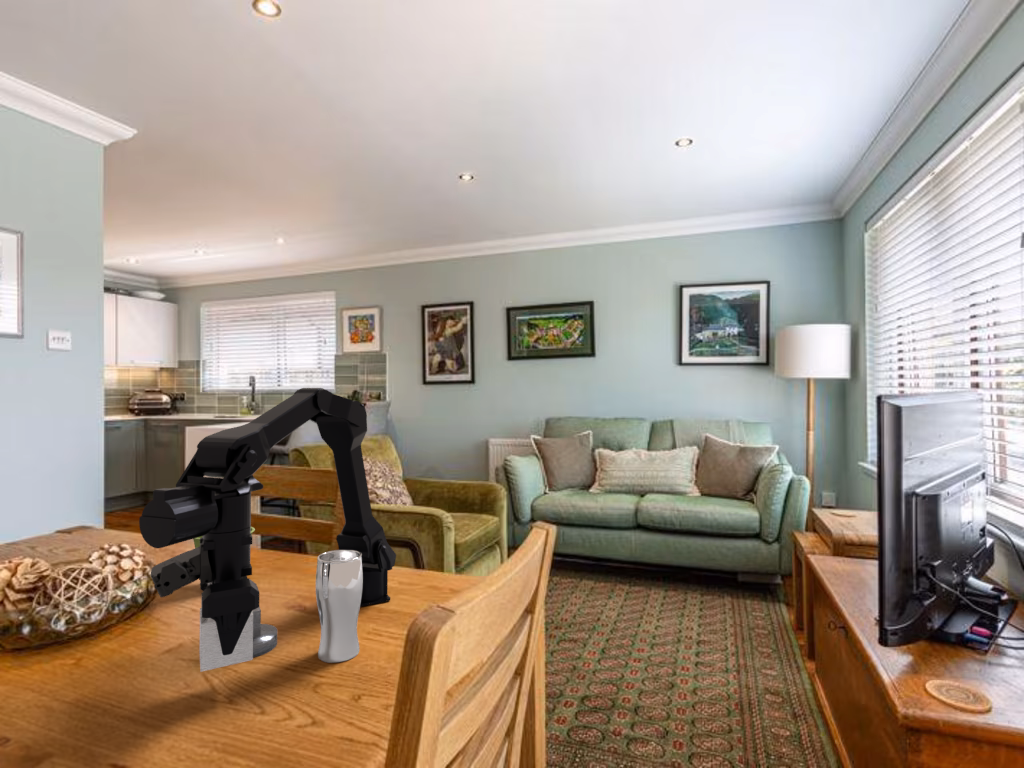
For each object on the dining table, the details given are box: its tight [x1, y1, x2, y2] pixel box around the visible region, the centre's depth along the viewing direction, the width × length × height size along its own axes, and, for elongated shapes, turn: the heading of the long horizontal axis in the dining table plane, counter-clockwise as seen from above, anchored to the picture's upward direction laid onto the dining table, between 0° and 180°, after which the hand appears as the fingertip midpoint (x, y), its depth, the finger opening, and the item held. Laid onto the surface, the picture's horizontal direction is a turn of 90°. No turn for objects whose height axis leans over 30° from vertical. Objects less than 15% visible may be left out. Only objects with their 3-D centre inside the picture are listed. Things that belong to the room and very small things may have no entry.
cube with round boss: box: [198, 607, 254, 673], centre depth 72 cm, size 6×6×8 cm
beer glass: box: [315, 549, 363, 664], centre depth 83 cm, size 7×7×15 cm
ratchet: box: [252, 606, 278, 659], centre depth 89 cm, size 18×8×6 cm, turn 31°
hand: (225, 644), depth 72 cm, fingers closed on cube with round boss, 6 cm apart
